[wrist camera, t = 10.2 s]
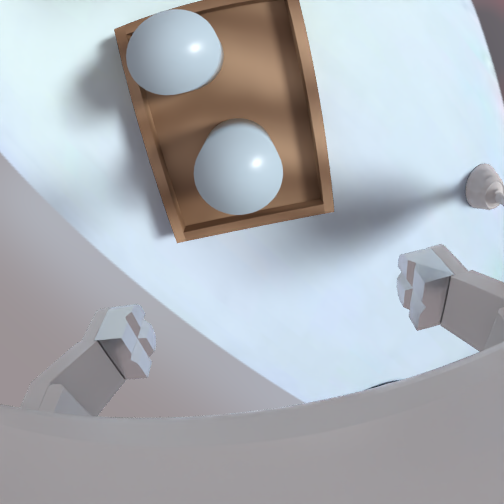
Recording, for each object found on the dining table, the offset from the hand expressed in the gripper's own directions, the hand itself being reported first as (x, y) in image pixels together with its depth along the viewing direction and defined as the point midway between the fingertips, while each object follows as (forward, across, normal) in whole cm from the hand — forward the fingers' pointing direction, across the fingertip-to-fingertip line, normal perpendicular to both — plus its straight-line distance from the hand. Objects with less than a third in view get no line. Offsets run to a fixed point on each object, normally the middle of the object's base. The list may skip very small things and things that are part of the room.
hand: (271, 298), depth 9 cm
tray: (+17, +1, -4) cm, 18 cm away
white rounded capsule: (+16, +3, -9) cm, 19 cm away
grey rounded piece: (+16, +1, -1) cm, 17 cm away
